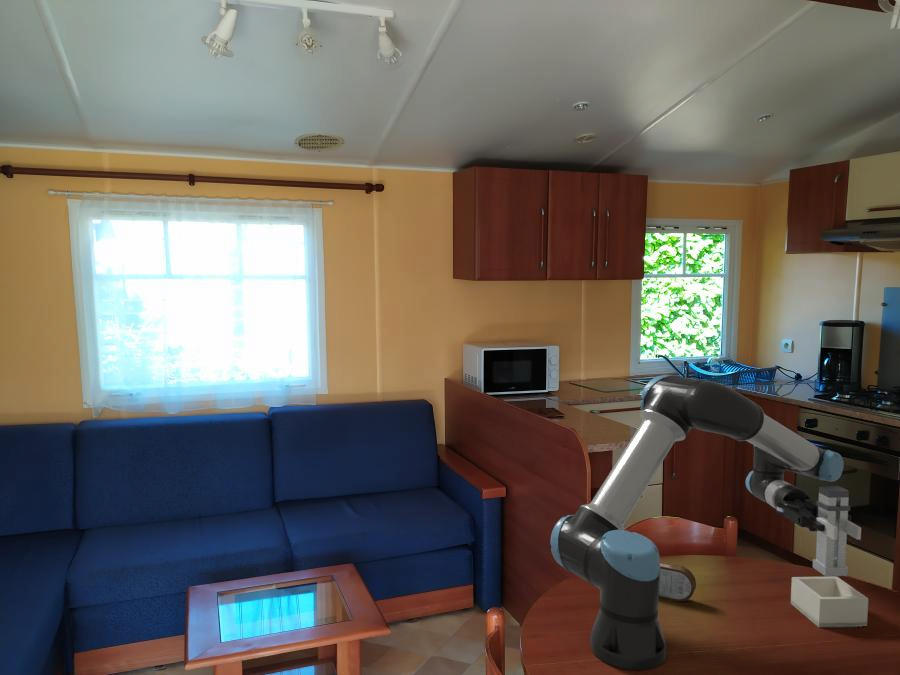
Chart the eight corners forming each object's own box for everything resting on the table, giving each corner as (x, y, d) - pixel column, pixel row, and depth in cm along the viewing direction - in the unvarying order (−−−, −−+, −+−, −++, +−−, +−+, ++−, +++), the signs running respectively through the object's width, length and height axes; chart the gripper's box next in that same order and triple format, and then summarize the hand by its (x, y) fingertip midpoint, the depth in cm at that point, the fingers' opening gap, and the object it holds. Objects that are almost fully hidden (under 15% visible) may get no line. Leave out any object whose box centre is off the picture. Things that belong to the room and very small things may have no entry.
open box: (818, 627, 143) (820, 599, 142) (790, 603, 154) (791, 577, 153) (866, 626, 143) (868, 598, 143) (835, 602, 154) (836, 576, 154)
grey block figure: (825, 576, 145) (829, 492, 144) (812, 567, 150) (816, 485, 149) (847, 575, 146) (852, 491, 144) (834, 566, 150) (838, 485, 149)
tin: (695, 600, 155) (696, 566, 154) (694, 606, 152) (695, 571, 152) (632, 587, 162) (633, 554, 161) (629, 592, 159) (630, 559, 158)
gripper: (820, 513, 166) (885, 549, 142) (753, 514, 165) (807, 550, 142) (822, 484, 165) (887, 516, 142) (754, 485, 164) (809, 517, 141)
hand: (847, 533), depth 142 cm, fingers closed on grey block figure, 5 cm apart
